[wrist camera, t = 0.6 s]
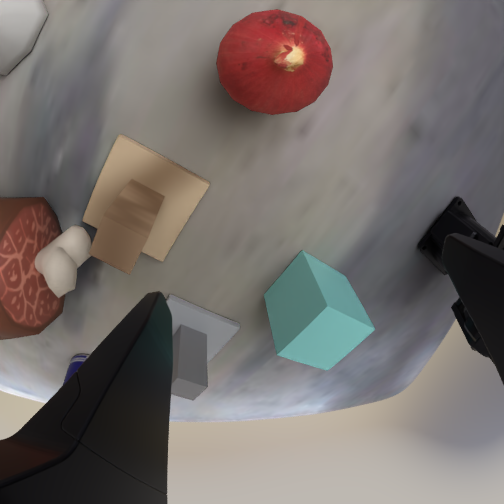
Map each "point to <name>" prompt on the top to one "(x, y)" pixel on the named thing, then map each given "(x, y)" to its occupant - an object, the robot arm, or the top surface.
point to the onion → (274, 62)
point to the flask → (19, 30)
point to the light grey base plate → (195, 344)
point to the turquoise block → (315, 314)
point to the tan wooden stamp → (140, 204)
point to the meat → (35, 265)
